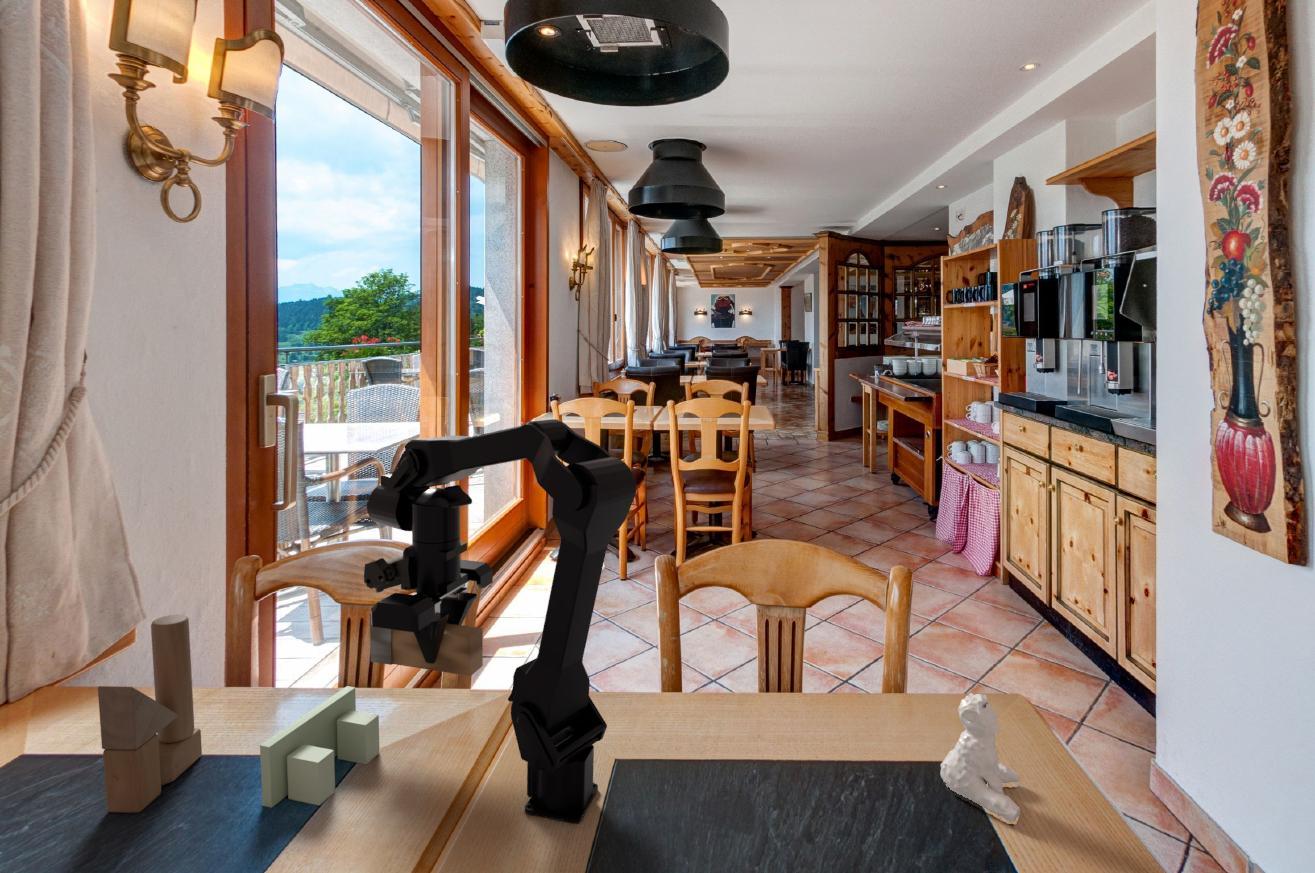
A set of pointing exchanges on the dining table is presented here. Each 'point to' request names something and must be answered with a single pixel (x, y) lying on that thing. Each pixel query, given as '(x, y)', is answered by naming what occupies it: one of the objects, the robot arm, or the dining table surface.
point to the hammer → (454, 656)
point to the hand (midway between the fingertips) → (437, 657)
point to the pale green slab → (317, 750)
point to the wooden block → (150, 723)
